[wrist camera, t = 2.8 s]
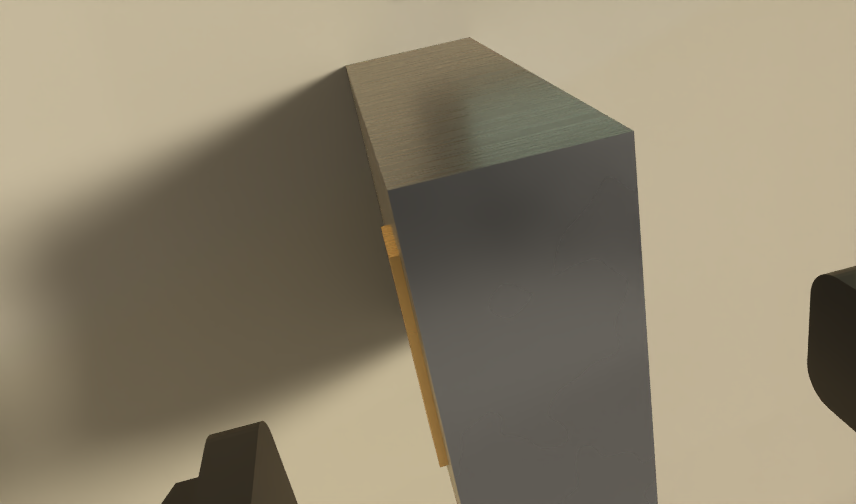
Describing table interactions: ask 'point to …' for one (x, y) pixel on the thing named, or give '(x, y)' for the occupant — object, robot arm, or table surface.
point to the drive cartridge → (514, 274)
